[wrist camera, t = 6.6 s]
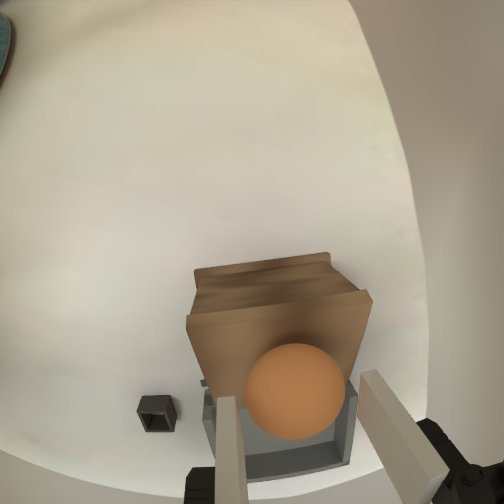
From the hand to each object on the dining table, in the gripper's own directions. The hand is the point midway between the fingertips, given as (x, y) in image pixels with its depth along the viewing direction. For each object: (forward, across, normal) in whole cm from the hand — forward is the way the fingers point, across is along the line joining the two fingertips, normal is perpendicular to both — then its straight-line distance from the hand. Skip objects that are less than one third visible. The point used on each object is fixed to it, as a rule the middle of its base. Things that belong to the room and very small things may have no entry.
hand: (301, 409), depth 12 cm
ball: (+2, 0, 0) cm, 2 cm away
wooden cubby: (+14, 0, -2) cm, 14 cm away
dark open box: (+14, -12, -10) cm, 21 cm away
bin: (+14, 0, -14) cm, 20 cm away
